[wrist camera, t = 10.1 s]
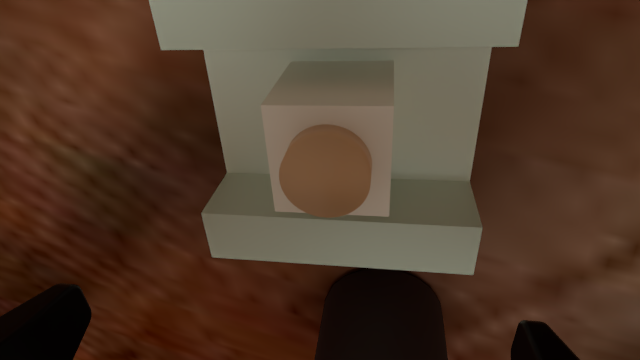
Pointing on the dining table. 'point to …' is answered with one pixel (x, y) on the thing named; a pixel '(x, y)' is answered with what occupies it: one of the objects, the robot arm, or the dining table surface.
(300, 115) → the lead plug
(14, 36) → the dining table surface
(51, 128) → the dining table surface
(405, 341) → the bottle
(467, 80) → the notch board
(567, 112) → the dining table surface
